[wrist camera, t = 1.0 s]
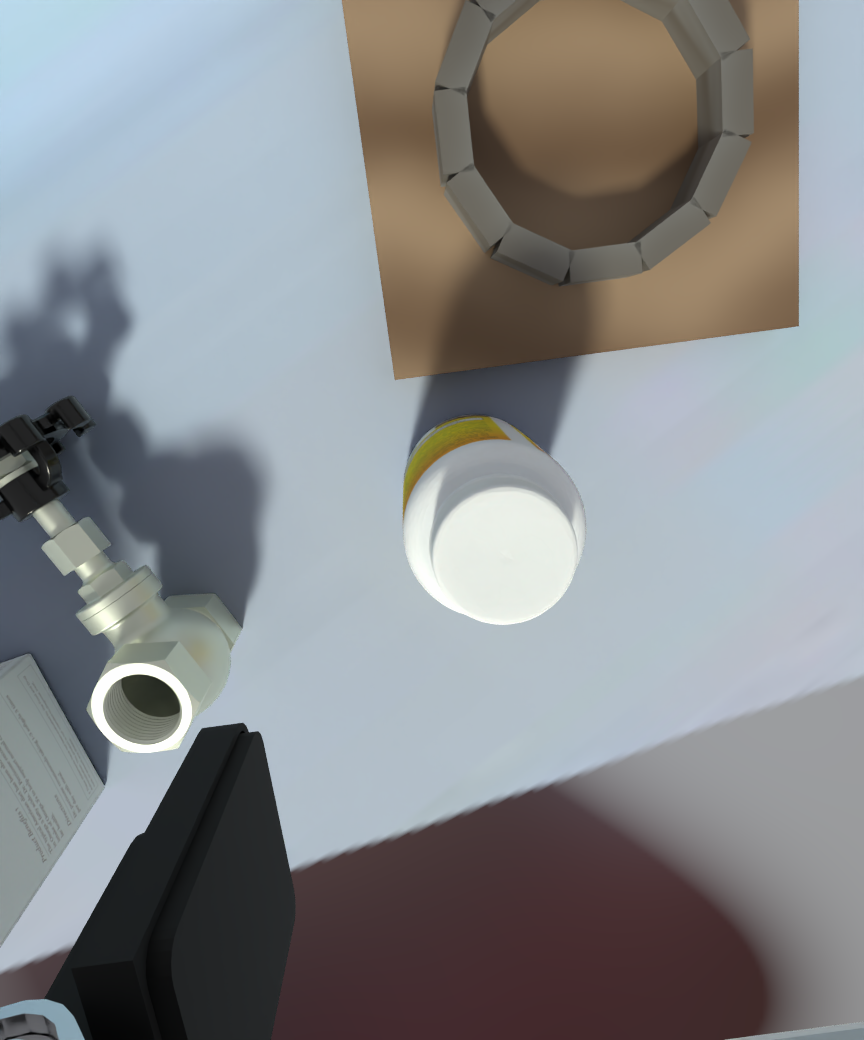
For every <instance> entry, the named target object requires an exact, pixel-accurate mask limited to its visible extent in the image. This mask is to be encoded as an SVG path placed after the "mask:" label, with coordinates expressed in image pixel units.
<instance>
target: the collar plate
mask: <svg viewBox="0 0 864 1040" xmlns="http://www.w3.org/2000/svg"><path fill="white" fill-rule="evenodd" d="M342 5H343V12H344V19H345V26H346V33H347V40H348V48H349V55H350V62H351V69H352V76H353V83H354V91H355V98H356V105H357V112H358V119H359V126H360V134H361V141H362V148H363V155H364V162H365V169H366V177H367V184H368V191H369V198H370V205H371V212H372V220H373V227H374V234H375V241H376V248H377V255H378V263H379V270H380V277H381V284H382V291H383V298H384V306H385V313H386V320H387V327H388V334H389V341H390V349H391V356H392V363H393V370H394V377H395V380H398V379H405V378H413V377H420V376H428V375H435V374H443V373H450V372H458V371H465V370H473V369H480V368H488V367H495V366H503V365H510V364H518V363H525V362H533V361H540V360H548V359H555V358H563V357H570V356H578V355H586V354H593V353H601V352H608V351H616V350H623V349H631V348H638V347H646V346H653V345H661V344H668V343H676V342H683V341H691V340H698V339H706V338H713V337H721V336H728V335H736V334H743V333H751V332H758V331H766V330H773V329H781V328H788V327H796V326H799V0H342Z"/></svg>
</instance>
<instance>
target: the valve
mask: <svg viewBox="0 0 864 1040" xmlns="http://www.w3.org/2000/svg"><path fill="white" fill-rule="evenodd" d="M95 426H96V423H95V422H94V421H93V419H92V418H91V417H90V415H89V414H88V413H87V412H86V410H85V409H84V408H83V406H82V405H81V404H80V403H79V402H78V401H77V399H76V398H75V397H74V396H68V397H65V398H63V399H61V400H59V401H57V402H56V403H54V404H52V405H51V406H50V407H48V408H47V409H46V410H45V414H44V415H42V416H40V417H39V418H37V419H34V420H31V419H30V418H29V416H28V415H25V414H23V415H19V416H16V417H14V418H12V419H10V420H8V421H7V422H5V423H3V424H2V425H1V426H0V501H1V502H0V520H3V519H5V518H7V517H9V516H10V515H13V516H14V518H15V519H16V520H17V521H18V522H23V521H26V520H28V519H29V518H31V517H33V516H34V518H35V519H36V520H37V521H38V523H39V524H40V525H41V526H42V528H43V529H44V530H45V531H46V532H47V534H48V535H49V536H50V537H51V539H50V540H48V541H47V542H45V543H44V544H43V546H42V548H41V549H42V550H43V551H44V552H45V553H46V555H47V556H48V557H49V558H50V559H51V561H52V562H53V563H54V564H55V565H56V567H57V568H58V569H59V570H60V572H61V573H62V574H63V575H64V576H65V575H67V574H68V573H70V572H71V571H73V570H74V571H75V572H76V573H77V574H78V575H79V577H80V578H81V579H82V581H83V585H82V587H81V588H79V590H78V593H79V595H80V596H81V597H82V598H83V599H84V601H85V602H86V603H87V604H86V605H85V606H84V607H83V608H81V609H80V610H79V611H78V612H77V613H76V616H77V618H78V619H79V620H80V621H81V622H82V624H83V625H84V626H85V627H86V628H87V629H88V631H89V632H90V633H91V635H97V634H99V633H101V632H102V633H104V634H105V636H106V637H107V638H108V639H109V640H110V642H111V643H112V644H113V646H114V648H115V654H114V656H113V657H112V658H111V659H110V660H109V661H108V662H107V664H106V666H105V668H104V670H103V672H102V674H101V676H100V678H99V680H98V682H97V684H96V687H95V689H94V691H93V694H92V696H91V698H90V701H89V703H88V706H87V709H86V710H87V712H88V714H89V715H90V717H91V718H92V720H93V721H94V723H95V724H96V725H97V727H98V728H99V729H100V730H101V732H102V733H103V734H104V735H105V736H106V737H107V738H108V739H109V740H110V741H111V742H112V743H113V744H114V745H115V746H116V747H117V748H118V749H120V750H121V751H122V752H134V753H139V752H157V751H166V750H172V749H177V748H179V746H180V744H181V743H182V741H183V739H184V737H185V735H186V734H187V732H188V730H189V728H190V726H191V725H192V723H193V720H194V718H195V716H197V715H199V714H200V713H202V712H203V711H205V710H206V709H207V708H208V707H210V706H211V705H212V704H213V703H214V701H215V700H216V699H217V698H218V697H219V695H220V694H221V692H222V690H223V689H224V687H225V685H226V682H227V679H228V676H229V673H230V665H231V657H230V653H231V651H232V649H233V647H234V645H235V643H236V641H237V639H238V637H239V635H240V633H241V631H242V628H241V626H240V625H239V624H238V622H237V621H236V620H235V618H234V617H233V616H232V614H231V613H230V612H229V611H228V609H227V608H226V607H225V605H224V604H223V603H222V601H221V600H220V599H219V598H218V596H217V595H216V594H213V593H208V594H190V595H173V596H168V597H167V598H166V600H165V601H163V599H162V598H161V597H160V596H159V594H158V591H159V590H160V589H161V588H162V586H163V584H162V583H161V582H160V581H159V579H158V578H157V577H156V576H155V574H154V573H153V572H152V571H151V569H150V568H149V567H148V566H147V565H145V566H142V567H140V568H139V569H137V570H135V571H134V572H133V571H132V570H131V568H130V567H129V566H128V565H127V563H126V562H125V561H124V560H123V561H119V562H116V563H115V562H112V561H110V559H109V558H108V557H107V556H106V554H105V553H104V552H103V550H104V549H106V548H107V547H109V546H110V545H111V543H110V542H109V541H108V539H107V538H106V537H105V536H104V534H103V533H102V532H101V531H100V529H99V528H98V527H97V526H96V524H95V523H94V522H93V521H92V519H91V518H90V517H85V518H83V519H81V520H79V521H78V522H76V521H75V520H74V518H73V517H72V516H71V515H70V513H69V512H68V511H67V510H66V508H65V507H64V506H63V505H62V503H61V502H60V501H59V500H60V499H62V498H63V497H64V496H66V495H67V494H68V493H69V491H70V490H69V489H68V487H67V486H66V485H65V484H64V482H63V481H62V471H61V465H60V461H59V459H58V456H59V455H60V454H62V453H63V452H64V451H65V448H64V446H63V445H62V444H61V442H60V440H61V439H62V438H63V437H64V436H65V435H66V434H67V432H68V429H69V430H71V429H72V430H73V431H74V432H75V433H76V435H77V436H78V437H81V436H83V435H84V434H86V433H87V432H89V431H90V430H92V429H93V428H94V427H95Z"/></svg>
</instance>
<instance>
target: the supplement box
mask: <svg viewBox="0 0 864 1040" xmlns="http://www.w3.org/2000/svg"><path fill="white" fill-rule="evenodd" d="M104 788H105V787H104V785H103V783H102V781H101V779H100V778H99V776H98V774H97V772H96V771H95V769H94V767H93V765H92V763H91V761H90V760H89V758H88V756H87V754H86V753H85V751H84V749H83V747H82V745H81V744H80V742H79V740H78V738H77V737H76V735H75V733H74V731H73V729H72V728H71V726H70V724H69V722H68V720H67V719H66V717H65V715H64V713H63V711H62V710H61V708H60V706H59V704H58V702H57V701H56V699H55V697H54V695H53V693H52V692H51V690H50V688H49V686H48V684H47V683H46V681H45V679H44V677H43V675H42V674H41V672H40V670H39V668H38V666H37V664H36V662H35V661H34V659H33V657H32V656H31V654H25V655H22V656H20V657H17V658H14V659H11V660H8V661H5V662H2V663H0V947H1V946H2V944H3V943H4V941H5V940H6V938H7V937H8V935H9V934H10V932H11V930H12V929H13V928H14V926H15V925H16V923H17V922H18V920H19V919H20V917H21V915H22V914H23V912H24V911H25V909H26V908H27V906H28V905H29V903H30V902H31V900H32V899H33V897H34V896H35V894H36V893H37V891H38V890H39V888H40V887H41V885H42V884H43V882H44V881H45V879H46V878H47V876H48V874H49V873H50V871H51V870H52V868H53V867H54V865H55V864H56V862H57V861H58V859H59V858H60V856H61V855H62V853H63V851H64V850H65V849H66V847H67V846H68V844H69V842H70V841H71V839H72V838H73V836H74V835H75V833H76V832H77V830H78V828H79V827H80V825H81V824H82V822H83V820H84V819H85V817H86V816H87V814H88V813H89V811H90V810H91V808H92V807H93V805H94V803H95V802H96V800H97V799H98V797H99V796H100V794H101V793H102V791H103V790H104Z"/></svg>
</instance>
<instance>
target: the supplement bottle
mask: <svg viewBox="0 0 864 1040" xmlns="http://www.w3.org/2000/svg"><path fill="white" fill-rule="evenodd" d="M403 540H404V547H405V551H406V555H407V559H408V562H409V564H410V567H411V569H412V571H413V573H414V575H415V576H416V578H417V579H418V581H419V582H420V584H421V585H422V586H423V587H424V589H425V590H426V591H427V592H428V593H429V594H430V595H431V596H432V597H434V598H435V599H436V600H437V601H439V602H440V603H442V604H443V605H445V606H446V607H448V608H450V609H452V610H454V611H456V612H459V613H462V614H465V615H467V616H469V617H471V618H474V619H476V620H479V621H482V622H486V623H492V624H504V625H506V624H515V623H520V622H524V621H527V620H530V619H532V618H535V617H536V616H538V615H540V614H542V613H544V612H545V611H547V610H548V609H549V608H551V607H552V606H553V605H554V604H555V603H556V602H557V601H558V600H559V599H560V598H561V597H562V596H563V594H564V593H565V591H566V590H567V588H568V587H569V585H570V583H571V581H572V578H573V576H574V572H575V569H576V567H577V565H578V563H579V561H580V558H581V555H582V552H583V549H584V544H585V540H586V517H585V511H584V506H583V503H582V500H581V496H580V494H579V492H578V490H577V488H576V486H575V484H574V482H573V481H572V479H571V478H570V476H569V475H568V474H567V473H566V471H565V470H564V469H563V468H562V467H561V466H560V465H559V464H558V463H557V462H556V461H555V460H554V459H553V458H552V457H551V456H549V455H548V454H547V453H546V452H545V451H543V450H542V449H541V448H540V447H539V446H538V445H537V444H535V443H534V442H533V441H532V440H531V439H529V438H528V437H527V436H526V435H524V434H523V433H522V432H521V431H519V430H518V429H517V428H515V427H514V426H512V425H511V424H509V423H507V422H505V421H503V420H500V419H498V418H494V417H491V416H486V415H463V416H458V417H455V418H452V419H449V420H446V421H444V422H442V423H440V424H438V425H436V426H435V427H434V428H432V429H431V430H430V431H428V432H427V433H426V434H425V435H424V436H423V437H422V438H421V439H420V441H419V442H418V443H417V444H416V446H415V447H414V449H413V451H412V453H411V455H410V457H409V459H408V462H407V465H406V469H405V473H404V482H403Z"/></svg>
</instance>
